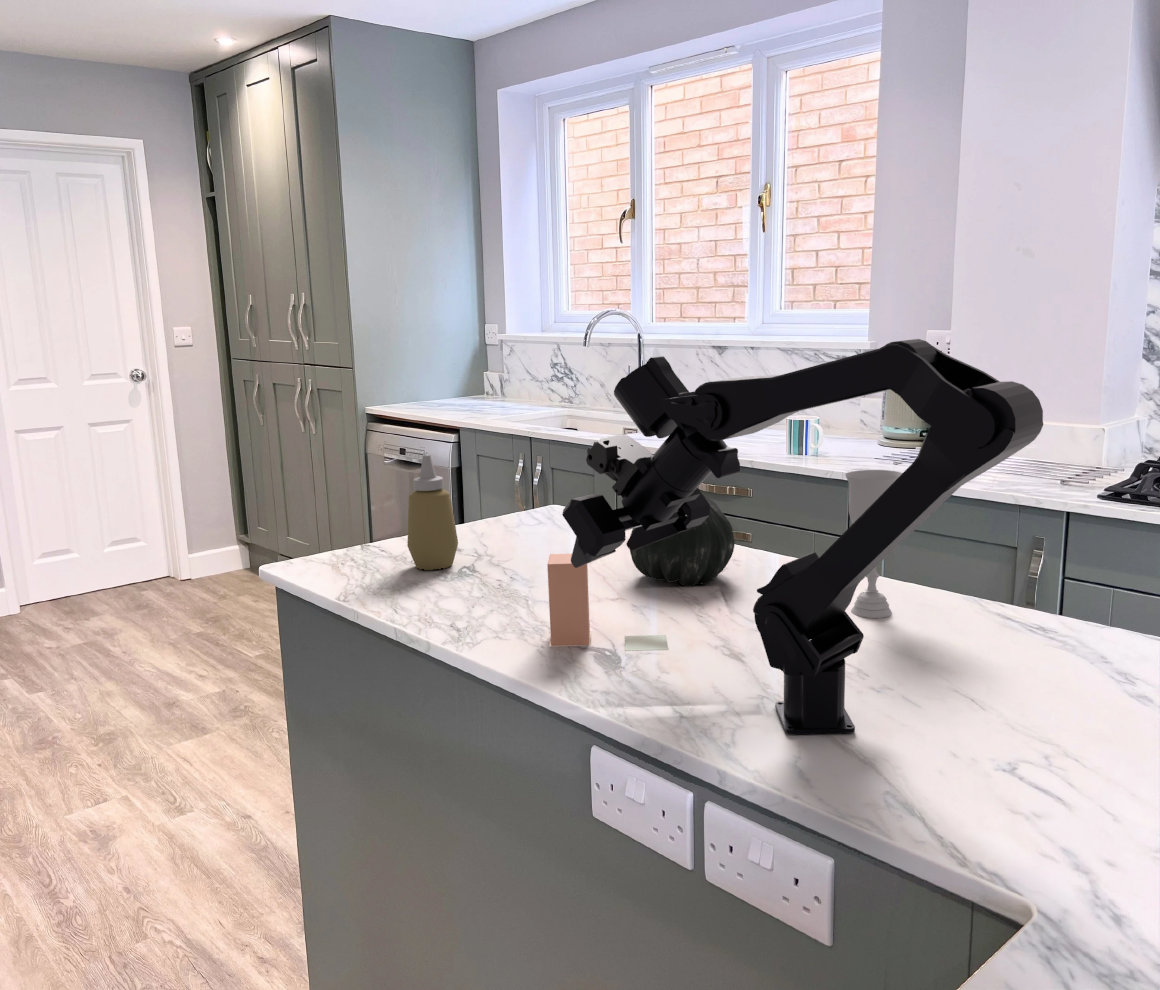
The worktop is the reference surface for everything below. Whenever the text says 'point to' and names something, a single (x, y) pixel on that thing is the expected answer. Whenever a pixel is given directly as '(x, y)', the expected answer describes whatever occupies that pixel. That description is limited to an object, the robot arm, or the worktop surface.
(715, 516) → the squash
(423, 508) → the squeeze bottle
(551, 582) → the terracotta block
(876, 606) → the chalice
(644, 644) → the walnut board
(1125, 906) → the worktop surface
